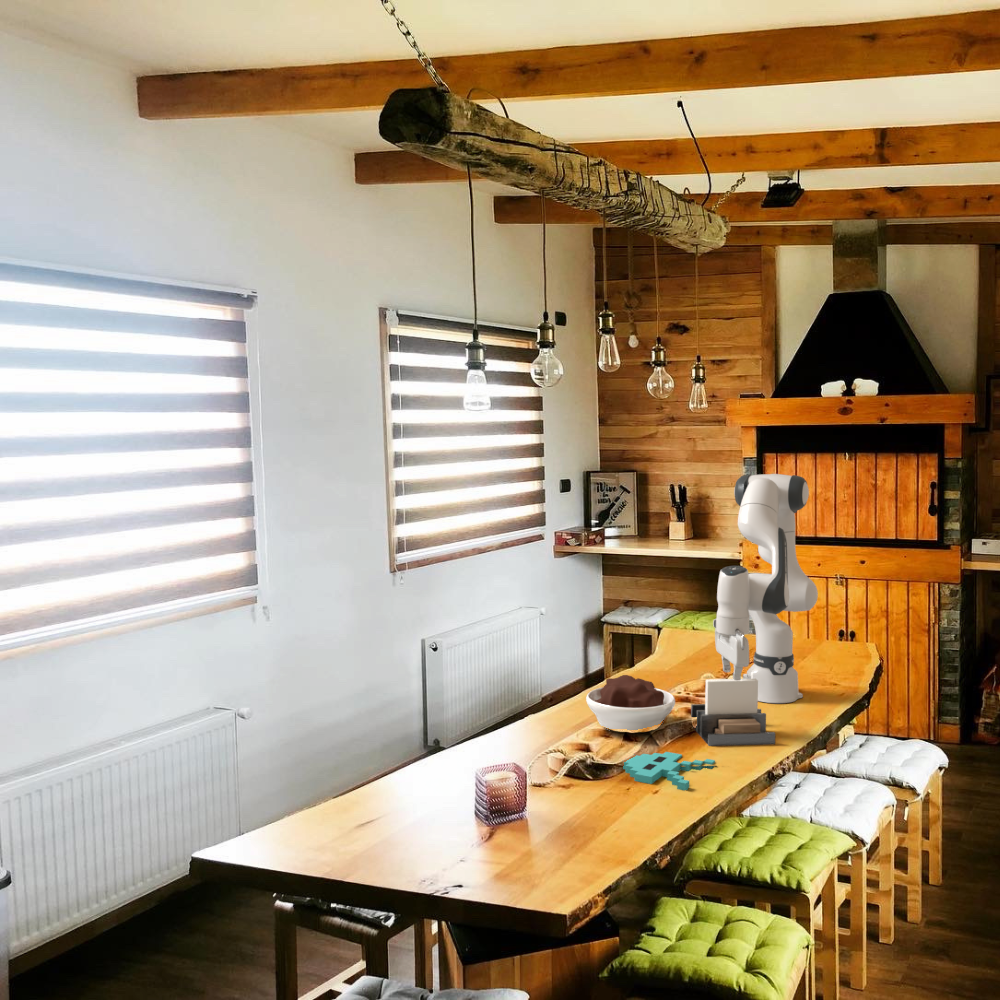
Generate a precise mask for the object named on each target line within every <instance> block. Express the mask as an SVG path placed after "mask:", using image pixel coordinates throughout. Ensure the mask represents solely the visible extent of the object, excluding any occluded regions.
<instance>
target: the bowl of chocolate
mask: <svg viewBox="0 0 1000 1000" xmlns="http://www.w3.org/2000/svg"><path fill="white" fill-rule="evenodd" d="M605 683H606V684H605V685H604V686H603V687H598V688H595V689H593V690H591V691H589V692H588V693H587V695H586V697H585V700H586V703H587V706H588V708H589V710H591V712H592V713H593V714H594V715H595V717H596V720H597V722H598V723H599V726H601V727H602V726H604V727H606V728H609V729H627V730H638V729H643V728H647V727H652V726H654V725H658V724H660V723H661V722H662V721H663V720H664V721H665V719H666V717H667V716H669V714H670V713H671V712H672V711H673V709H674V708H675V705H676V699H675V698H676V697H675V696H674V695H673V694H672V693H670V692H668V691H667V690H663V689H660V688H657V687H655V685H654V683H653V682H652V681H649V680H645V679H643V678H639V677H637V678H635V677H633V676H631V675H628V674H623V675H620V676H617V677H615V678H607V679H606V680H605ZM664 721H663V722H664ZM604 727H603V728H604ZM606 728H605V729H606Z"/></svg>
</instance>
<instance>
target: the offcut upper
mask: <svg viewBox="0 0 1000 1000" xmlns="http://www.w3.org/2000/svg"><path fill="white" fill-rule="evenodd" d="M718 729H719V730H720V731H721V732H722V733H760V723H759V722H757V721H756V720H755V719H723V720H719V724H718Z"/></svg>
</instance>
